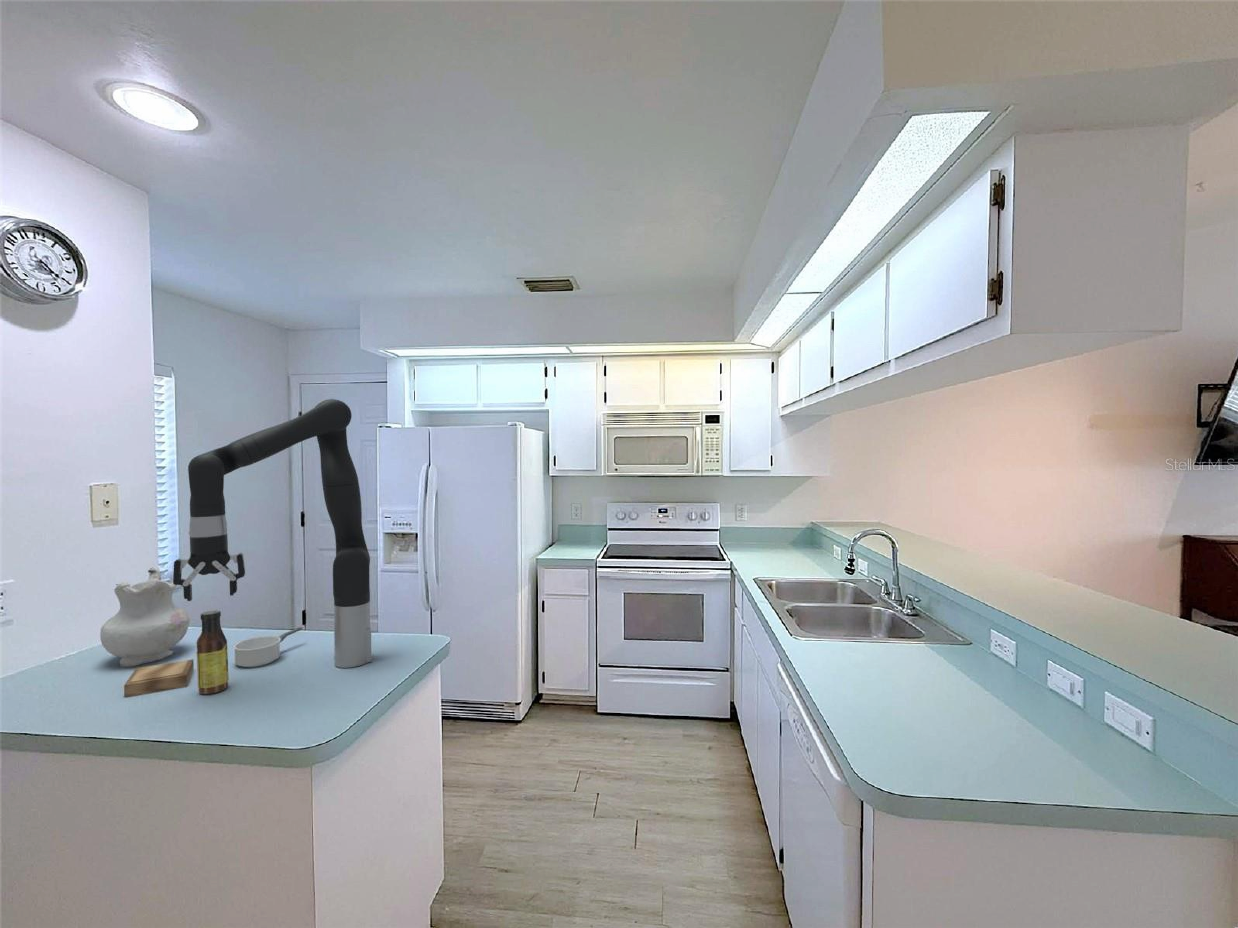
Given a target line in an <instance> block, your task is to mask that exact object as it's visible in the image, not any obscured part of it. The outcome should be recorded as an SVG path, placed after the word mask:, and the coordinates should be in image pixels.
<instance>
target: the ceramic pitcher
mask: <svg viewBox="0 0 1238 928" xmlns="http://www.w3.org/2000/svg"><path fill="white" fill-rule="evenodd" d="M147 572H148V573H149V574H148V580H146V581H143V582H137V583H133V584H132V585H131V584H130V581H123V582H121V583H117V584H116V583H115V585H116V586H115V587H114V589H113V592H114V594H115V595H116V597H117V600H118V602H119V610H118V611H117V613H116V614H115V615H113V616H112V617H110V618H109V619H108V620H107V621H105V623H104V624H102V626H101V628H100V633H99V635H100V643H101V645H102V646H103V648H104V649H105V650H106V652H108V653H109V654H111V655H113V657H114V656H115V657H121V659H120V660H119V666H120V667H123V668H130V667H131V668H132V667H135V666H138V665H139V666H140V665H142V664H146V663H150V662H154V661H155V662H156V661H160V660H164V659H166V658H168V657H170V656H172V655H173V654H174V652H173V651H172V650H171V649H170V648H173V647H174V646H177V644H178V643H179V642H180V641H182V640H183V639H184V637H185V636H186V634H187V631H188V629H189V626H190V617H189V614H188V613H187V612H186V611H185V610H183V609H182V608H180V607H178V606H176V605H175V604H174V603H173V593H174V590H175V589H176V587H177V586H178V585H174V584H173V581H171V582H168V581H165V580H162V577H161V575H162V574H161V573H160V571H159V570H158V569H157V568H155V567H151V568H149V569H148V570H147Z"/></svg>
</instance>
